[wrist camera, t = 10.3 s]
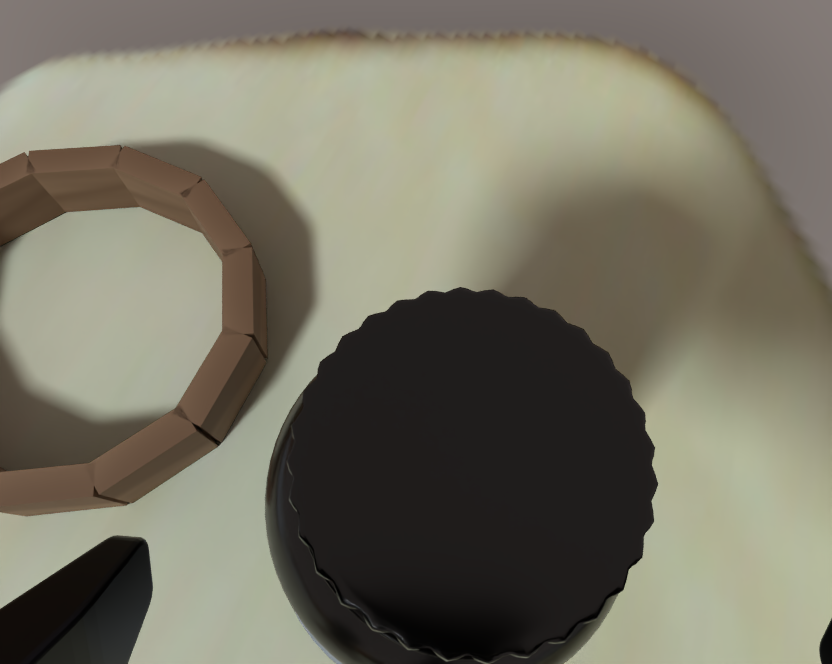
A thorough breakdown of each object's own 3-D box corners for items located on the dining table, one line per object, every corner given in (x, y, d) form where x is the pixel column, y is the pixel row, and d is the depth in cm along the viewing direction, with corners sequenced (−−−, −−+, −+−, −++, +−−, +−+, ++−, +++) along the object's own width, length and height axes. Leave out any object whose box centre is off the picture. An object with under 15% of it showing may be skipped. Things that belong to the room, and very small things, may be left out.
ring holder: (324, 258, 24) (318, 224, 21) (145, 577, 19) (112, 578, 17) (51, 145, 25) (16, 101, 23) (-175, 418, 21) (-246, 399, 18)
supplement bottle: (482, 385, 21) (595, 165, 9) (574, 588, 18) (868, 618, 7) (286, 460, 19) (147, 311, 8) (360, 688, 17) (308, 910, 6)
